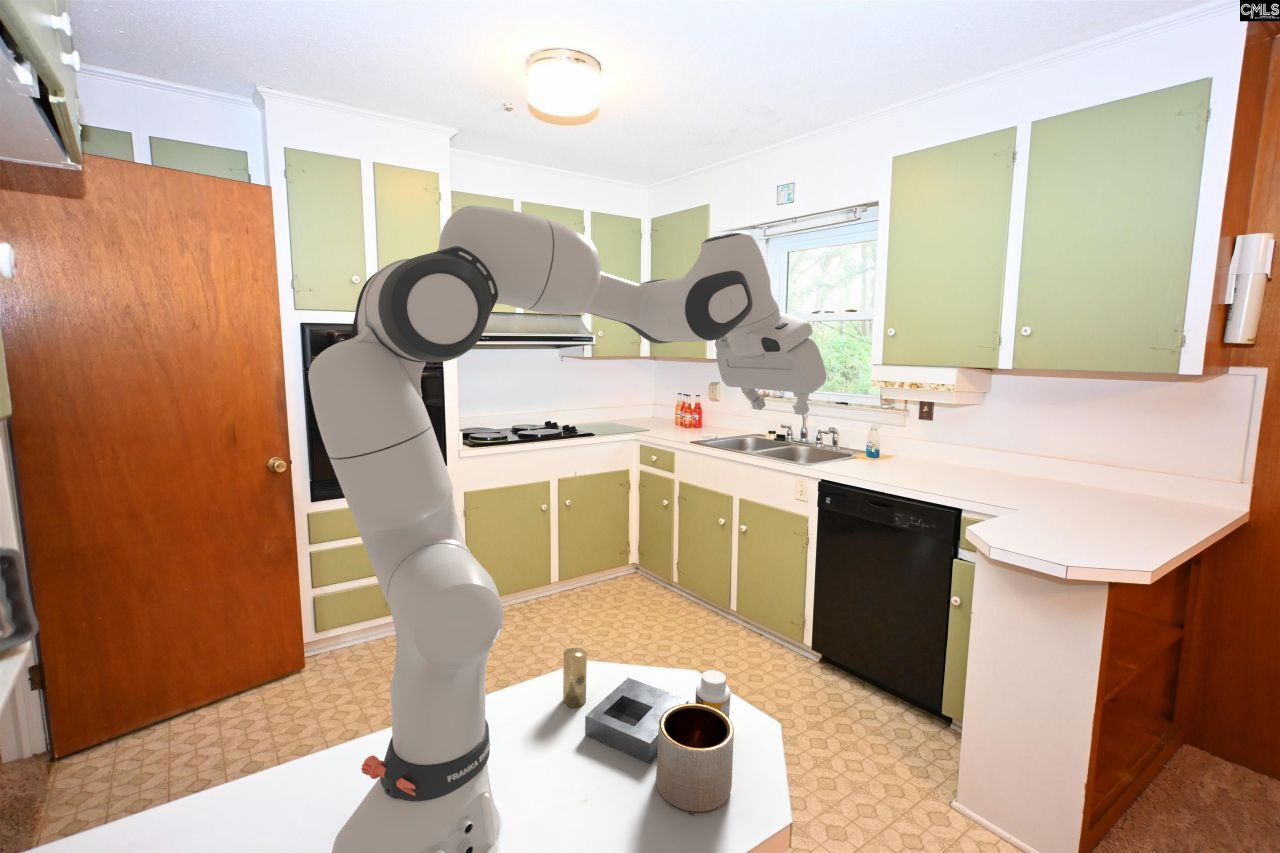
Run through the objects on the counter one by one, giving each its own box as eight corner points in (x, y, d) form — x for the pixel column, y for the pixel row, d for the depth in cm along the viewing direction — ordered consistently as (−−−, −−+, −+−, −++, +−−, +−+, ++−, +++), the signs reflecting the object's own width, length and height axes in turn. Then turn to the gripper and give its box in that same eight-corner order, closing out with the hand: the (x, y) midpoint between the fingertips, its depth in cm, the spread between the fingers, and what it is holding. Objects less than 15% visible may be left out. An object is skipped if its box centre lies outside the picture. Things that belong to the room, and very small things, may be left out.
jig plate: (649, 764, 91) (650, 743, 90) (585, 735, 97) (585, 715, 96) (687, 718, 102) (688, 699, 101) (627, 695, 108) (628, 677, 107)
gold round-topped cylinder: (576, 710, 103) (577, 662, 102) (558, 702, 105) (558, 655, 104) (590, 699, 107) (591, 651, 105) (572, 691, 109) (572, 645, 107)
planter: (728, 762, 92) (732, 705, 90) (733, 819, 81) (737, 755, 80) (658, 756, 93) (660, 699, 91) (653, 811, 82) (655, 748, 80)
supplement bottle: (686, 733, 98) (689, 675, 97) (709, 719, 102) (711, 663, 100) (712, 750, 94) (716, 690, 93) (735, 735, 98) (738, 677, 96)
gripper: (699, 342, 101) (725, 413, 106) (791, 342, 84) (817, 426, 89) (725, 326, 104) (748, 397, 109) (819, 323, 87) (842, 406, 92)
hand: (780, 410), depth 99 cm, fingers open, 8 cm apart
